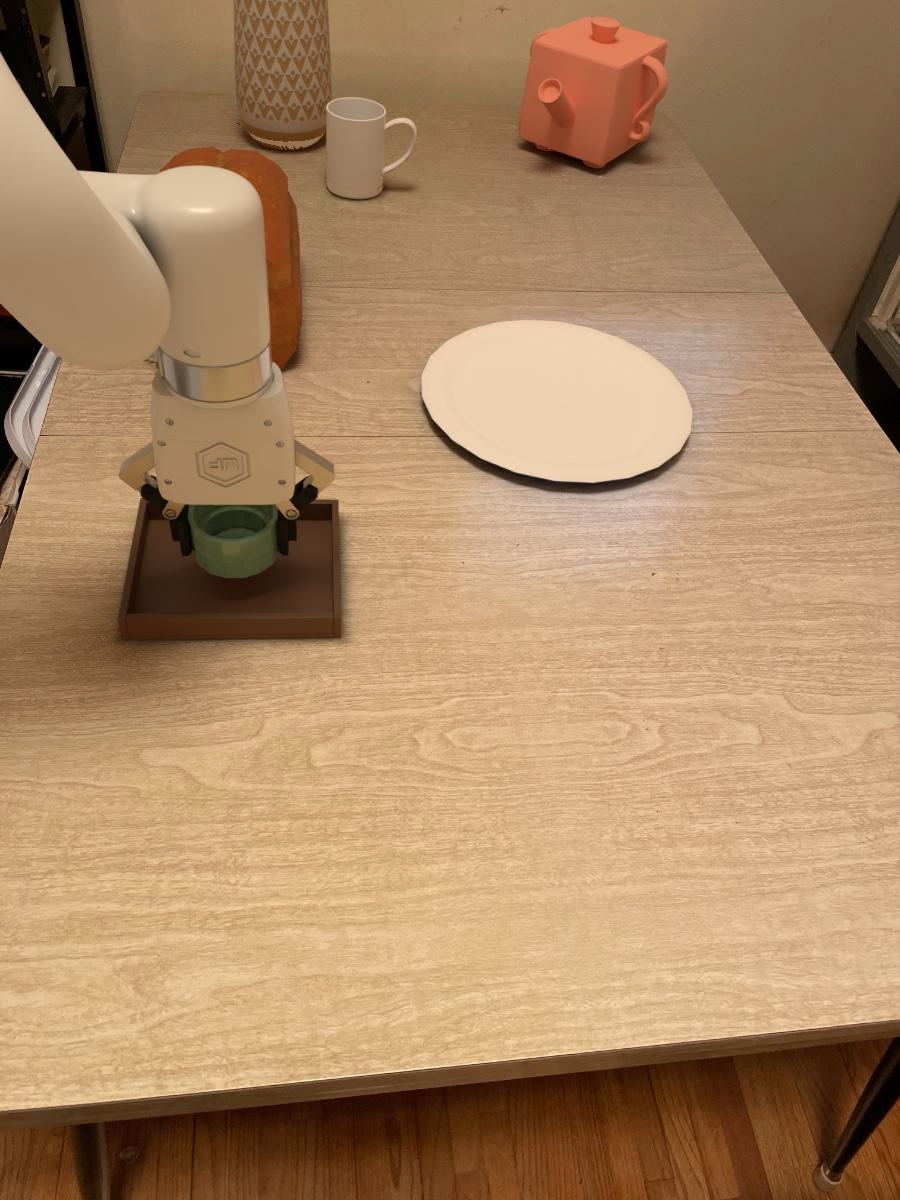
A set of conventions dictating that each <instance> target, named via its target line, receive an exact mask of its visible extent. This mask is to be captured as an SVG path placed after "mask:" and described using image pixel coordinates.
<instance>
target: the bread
mask: <svg viewBox="0 0 900 1200" xmlns="http://www.w3.org/2000/svg"><path fill="white" fill-rule="evenodd" d="M183 166H212V167H218V168H223V169H227V170H230V171H232V172H235V173H237V174H238V175H240V176H242V177H243V178H245V179H246V180H248V181H249V182H250V183H251V184H252V186H253V187H254V188H255V189H256V191H257V193H258V195H259V197H260V200H261V203H262V208H263V217H264V232H265V248H266V265H267V282H268V299H269V316H270V333H271V334H270V335H271V349H272V362H274V363H275V364H276V365H277V366H278V367H279V368H280V370H283V369H284V367H285V366H286V365H287V363H288V361H289V360H290V359H291V357H292V356H293V354H294V353H295V351H296V349H297V348H298V346H299V338H300V331H301V328H302V325H303V295H302V283H301V282H302V281H301V238H300V228H299V219H298V218H299V217H298V209H297V204H296V203H295V201H294V199H293V197H292V195H291V193H290V191H289V177H288V176H287V174H286V172H285V171H284V170H283V169H282V167H281V165H279V164H278V163H276V162H275V161H274V160H272V159H270V158H268V157H267V156H265V155H264V154H262V153H260V152H259V151H258V150H257V151H256V150H252V149H239V148H237V149H236V148H229V149H227V150H224V151H222V150H220V149H218V148H217V147H215V146H206V147H205V146H204V147H194V148H193V147H192V148H187V149H186V150H183V151H181V152H179V153H177V154H175V155H174V156H173V157H172V158H171V159H170V160H169V162H168V163H166V164H165V165H163V167H161V168H160V169H159V172H158V173H160V172H162V171H165V170H168V169H172V168H176V167H183Z"/></svg>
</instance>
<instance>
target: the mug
mask: <svg viewBox="0 0 900 1200" xmlns="http://www.w3.org/2000/svg"><path fill="white" fill-rule="evenodd" d="M397 125H406V126H408V127H409V128H410V130H411V133H412V137H411V138H412V139H411V143H410V145H409V148H408V149H407V151H406V152H405V153H404V155H402V156H401V157H400V158H399V159H398V160H396V161H394V162H393V163H391V164H389V165H387V166H385V147H386V131H388V130H389V129H390V128H392V127H394V126H397ZM417 129H418V128H417V126H416V124H415V122H413V121H412V119H409V118H407V117H397V118H394V119H391V120H390V121H388V122H387V110H386V108H385V106H384V105H382V104H381V103H379V102H377V101H375V100H372V99H369V98H364V97H355V96H353V97H352V96H351V97H350V96H349V97H348V96H347V97H340V98H335V99H332V101H331V102H329V103H328V104H327V106H326V131H325V139H326V140H325V141H326V143H325V145H326V146H325V149H326V150H325V151H326V152H325V153H326V155H325V156H326V158H325V159H326V161H325V162H326V163H325V164H326V165H325V166H326V167H325V170H326V173H325V174H326V176H325V177H326V178H327V180H328V181H329V182H330V183H331V184H332V185H334V186H336V187H338V188H341V189H344V190H348V191H353V192H367V191H371V190H374V189H376V188H378V187H379V186H381V185H382V183H383V185H382V187H380V188H379V189H377V190H375V191H372V192H368V193H349V192H344V191H340V190H337V189H335V188H333V187H332V186H330V185H329V184H328V182H327V180H326V178H325V181H326V183H325V185H326V187H327V189H328V191H330V192H331V193H332V194H334V195H336V196H338V197H341V198H345V199H349V200H367V199H371V198H374V197H377V196H378V195H380V194H381V193H382V190H383V189H384V175H385V174H387V173H389V172H391V171H393V170H396V169H397V168H399V167H400V166H402V165H403V164H404V163H405V162H407V161H408V159H409V158H410V157H411V156H412V154H413V153H414V150H415V147H416V145H417V140H418V130H417Z"/></svg>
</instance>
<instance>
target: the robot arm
mask: <svg viewBox="0 0 900 1200" xmlns="http://www.w3.org/2000/svg"><path fill="white" fill-rule="evenodd" d="M159 172H160V171H159ZM159 172H157V173H156V174H134V173H117V172H116V173H115V172H104V171H103V172H102V171H91V170H90V171H89V170H78V169H77V168H76V167H75V165H74V164H73V162H72V161H71V160H70V159H69V156H67V154H66V153H65V151H64V150H63V149H62V148H61V146H60V144H59V143H58V142H57V140H56V139H55V138H54V136H53V135H52V133H51V132H50V130H49V129H48V128H47V126H46V124H45V123H44V121H43V120H42V118H41V117H40V116H39V114H38V112H37V111H36V110H35V108H34V107H33V105H32V104H31V102H30V100H29V98H28V97H27V96H26V94H25V92H24V90H23V89H22V87H21V85H20V84H19V83H18V80H17V79H16V77H15V76H14V74H13V73H12V71H11V69H10V67H9V65H8V64H7V61H6V60H5V58H4V56H3V55H2V52H0V305H1V306H3V308H4V309H5V310H6V311H8V313H9V314H10V315H12V316H13V318H15V320H17V322H18V323H19V324H21V326H22V327H24V329H26V330H27V331H28V332H29V333H30V334H31V335H32V336H33V337H34V338H35V339H36V340H37V341H38V342H39V343H40V344H41V345H43V346H44V347H45V348H46V349H47V350H49V351H50V352H52V353H53V354H54V355H56V356H57V357H59V358H60V359H62V360H64V361H66V362H67V363H69V364H71V365H74V366H77V367H80V368H83V369H87V370H91V371H96V372H116V371H124V370H127V369H130V368H132V367H135V366H137V365H139V364H140V363H149V364H150V365H155V367H156V371H155V373H154V377H153V379H152V382H151V390H150V391H151V392H150V423H151V424H150V426H151V439H152V441H151V442H149V443H148V444H146V445H145V446H144V447H142V448H140V449H139V450H138V451H136V452H135V453H133V454H131V456H129V457H127V458H126V459H124V460H123V461H122V462H121V464H120V467H119V472H118V477H119V479H120V480H122V481H123V483H125V484H126V485H128V486H129V487H130V488H131V489H133V490H134V491H137V492H139V493H140V498H143V499H145V500H146V501H148V502H149V503H151V504H153V505H154V506H156V507H157V508H159V509H160V510H162V511H163V512H162V513H163V516H164V517H165V518H167V519H169V523H170V529H171V534H172V540H173V541H180V547H181V553H182V556H189V554H191V553H192V546H191V539H190V533H189V527H188V520H187V515H188V508H189V505H270V504H275V505H276V506H277V508H278V536H279V552H280V554H282V556H288V554H289V541H297V517H298V516H299V511H301V510H302V509H303V508H305V507H306V506H307V505H309V504H310V503H311V502H313V501H314V500H315V499H317V498H318V496H319V494H320V493H321V492H323V491H324V490H326V488H328V487H329V485H331V484H332V483H333V482H334V481H335V479H336V466H335V464H334V463H333V462H332V461H330V460H328V459H327V458H325V457H323V455H320V454H319V453H317V452H316V451H314V450H312V449H311V448H309V447H307V446H306V445H304V444H303V443H301V442H300V441H298V440H296V439H295V431H294V424H293V423H294V422H293V416H292V410H291V404H290V400H289V394H288V391H287V387H286V384H285V383H286V382H285V379H284V376H283V373H282V371H281V370H282V369H280V368H279V367H278V366H277V365H276V364H275V363H274V362H272V349H271V335H270V334H271V333H270V316H269V299H268V282H267V265H266V248H265V232H264V217H263V208H262V203H261V200H260V197H259V195H258V193H257V191H256V189H255V188H254V187H253V186H252V184H251V183H250V182H249V181H248V180H246V179H245V178H243V177H242V176H240V175H238V174H237V173H235V172H232V171H230V170H227V169H223V168H218V167H212V166H183V167H176V168H172V169H168V170H165V171H162V172H160V173H159ZM154 468H155V475H153V474H150V472H149V471H151V470H152V469H154ZM297 468H298V469H300V470H302V471H303V472H305V473H307V474H309V475H307V476H305V477H304V478H302V479H301V480H299V481H298V482H297V483H296V480H297V479H296V478H297V477H296V475H297V473H296V471H297Z"/></svg>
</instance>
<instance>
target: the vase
mask: <svg viewBox="0 0 900 1200" xmlns="http://www.w3.org/2000/svg"><path fill="white" fill-rule="evenodd" d="M232 2H233V3H232V4H233V43H234V46H233V47H234V48H233V49H234V51H233V52H234V80H235V81H234V84H235V85H234V86H235V96H236V105H237V110H238V115H239V118H240V121H241V123H242V126H243V127H244V129H245V130H246V132H247V131H248V132H250V133H251V134H253V135H255V136H257V137H260V138H263V139H267V140H273V141H283V142H288V141H292V142H293V141H305V140H310V139H314V138H316V137H319V136H321V135H322V134H323V133H324V132H325V133H326V106H327V104H328V103H329V102H331V101H332V100H333V83H332V81H333V80H332V61H331V40H330V18H329V0H233V1H232ZM248 132H247V133H248ZM325 133H324V134H325ZM324 134H323V135H324ZM251 139H252V140H254V141H255V142H256V143H258V144H260V145H261V146H263V147H266V148H269V149H273V150H278V151H299V150H304V149H308V148H307V147H305V148H303V147H302V146H301V147H299V150H298V149H296V148H295V147H294V146H293V148H294V150H292V149H289V148H288V147H287V146H285V148H286V149H287V150H286V149H285V148H284V147H283V146H281V148H282V149H281V148H280V147H279V146H276V145H271V144H267V143H263V142H261V141H258V140H256V139H254V138H253V137H251ZM321 139H322V137H321V138H320V139H319V141H320V140H321ZM319 141H317V143H318V142H319ZM310 147H312V146H311V145H310Z"/></svg>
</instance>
